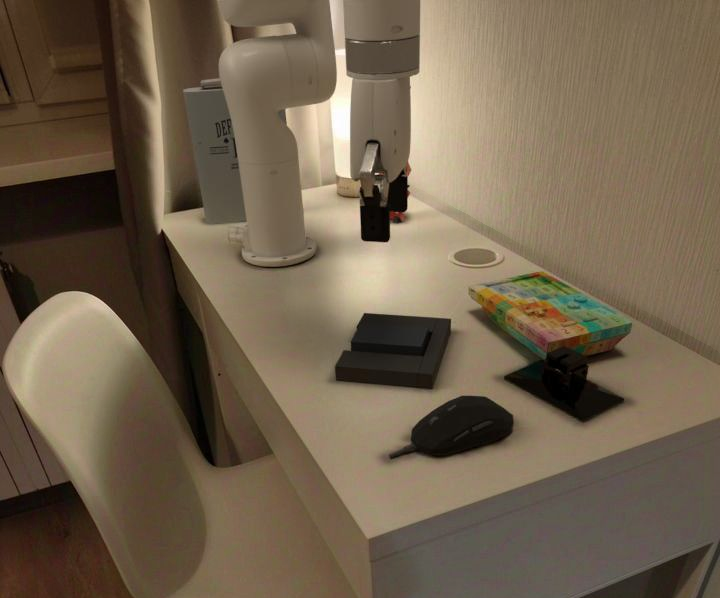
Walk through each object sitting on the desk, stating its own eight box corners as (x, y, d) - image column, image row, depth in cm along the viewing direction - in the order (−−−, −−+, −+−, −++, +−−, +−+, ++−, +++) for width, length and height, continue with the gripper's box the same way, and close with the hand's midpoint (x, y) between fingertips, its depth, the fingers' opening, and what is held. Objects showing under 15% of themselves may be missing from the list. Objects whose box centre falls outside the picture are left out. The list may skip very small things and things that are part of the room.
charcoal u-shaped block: (432, 388, 86) (432, 374, 85) (335, 380, 89) (334, 366, 88) (450, 332, 98) (451, 318, 96) (364, 326, 100) (364, 312, 99)
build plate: (502, 379, 88) (505, 344, 85) (545, 361, 91) (549, 326, 88) (582, 422, 79) (588, 385, 76) (626, 400, 82) (633, 364, 80)
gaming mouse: (376, 442, 78) (374, 411, 76) (491, 406, 83) (493, 375, 80) (404, 473, 74) (403, 441, 71) (524, 433, 78) (528, 401, 76)
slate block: (421, 368, 90) (421, 346, 89) (351, 362, 92) (350, 341, 90) (428, 347, 95) (428, 326, 93) (361, 342, 96) (360, 322, 95)
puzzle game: (549, 335, 84) (468, 279, 100) (545, 371, 87) (467, 312, 103) (633, 316, 87) (542, 265, 103) (626, 351, 90) (539, 296, 106)
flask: (206, 225, 137) (180, 76, 121) (205, 218, 140) (179, 72, 125) (297, 214, 139) (283, 67, 124) (293, 207, 143) (279, 63, 127)
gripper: (367, 43, 81) (371, 199, 91) (323, 73, 68) (334, 251, 78) (433, 42, 79) (430, 202, 90) (401, 74, 66) (401, 256, 77)
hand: (385, 225), depth 84 cm, fingers open, 9 cm apart
